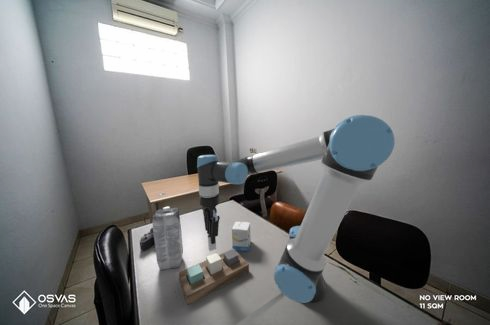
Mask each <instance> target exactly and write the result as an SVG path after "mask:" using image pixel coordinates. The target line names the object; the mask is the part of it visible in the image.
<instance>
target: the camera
mask: <svg viewBox="0 0 490 325" xmlns="http://www.w3.org/2000/svg"><path fill="white" fill-rule="evenodd" d="M154 246H155V241H154V233H153V227H151V228H150V230H149V231H148V232H146V233H144V234H143V236H141V237H140V240H139V248H140V252H142V253H143V252H147V251H148V250H150V249H151V248H152V247H154Z"/></svg>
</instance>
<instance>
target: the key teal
mask: <svg viewBox="0 0 490 325" xmlns="http://www.w3.org/2000/svg"><path fill="white" fill-rule="evenodd" d="M197 264H198V265H197ZM197 264H195V266H194V265H192V266H193V267H192V266H190V267H191V268H190V267H188V269H187V268H186V269H187V274H188V281H189V282H188V283H189V285H190V286H191V285H193V284H195V283H197V282H199V281H201V280H204V279H203V271H202V269H201V267H200V265H199V263H197Z"/></svg>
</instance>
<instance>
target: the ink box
mask: <svg viewBox="0 0 490 325" xmlns="http://www.w3.org/2000/svg"><path fill="white" fill-rule="evenodd" d="M251 236H252V234H251V222H250V221H249V222H247V221H235V222H234V223H233V225H232V228H231V243H232V246H231V247H232V248H231V249H235V250H236V251H237V252H249V250H250V246H251V243H252V242H251V240H252V239H251Z"/></svg>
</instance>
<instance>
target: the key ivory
mask: <svg viewBox="0 0 490 325" xmlns="http://www.w3.org/2000/svg"><path fill="white" fill-rule="evenodd" d="M219 255H220V254H218V252H215V253H212V254H209V255H208V256H206V257H205V259H206V260H205V261H206V262H207V269H208V270H209V275H210V276H212V275H214V274H216V273H218V272H220V270H222V260H221V258H220V256H219Z"/></svg>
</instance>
